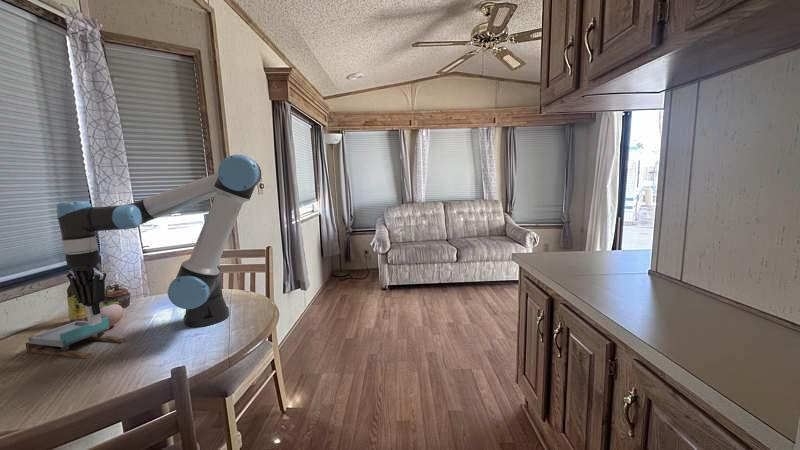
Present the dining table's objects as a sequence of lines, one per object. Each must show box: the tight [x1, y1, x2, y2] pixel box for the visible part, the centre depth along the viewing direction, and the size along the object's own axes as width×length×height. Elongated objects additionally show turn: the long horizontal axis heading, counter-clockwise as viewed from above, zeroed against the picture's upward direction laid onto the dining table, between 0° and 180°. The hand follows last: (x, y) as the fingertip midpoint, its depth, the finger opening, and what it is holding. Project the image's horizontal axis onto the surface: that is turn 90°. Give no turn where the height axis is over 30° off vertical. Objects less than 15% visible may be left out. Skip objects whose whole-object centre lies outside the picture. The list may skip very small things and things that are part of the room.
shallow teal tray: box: [28, 317, 110, 351], centre depth 107 cm, size 14×13×6 cm
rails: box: [25, 334, 127, 359], centre depth 107 cm, size 24×12×3 cm, turn 78°
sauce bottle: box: [66, 270, 88, 323], centre depth 126 cm, size 6×6×20 cm
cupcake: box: [101, 283, 132, 309], centre depth 140 cm, size 10×10×10 cm
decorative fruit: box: [99, 302, 124, 329], centre depth 120 cm, size 9×8×10 cm
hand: (95, 323), depth 104 cm, fingers closed
